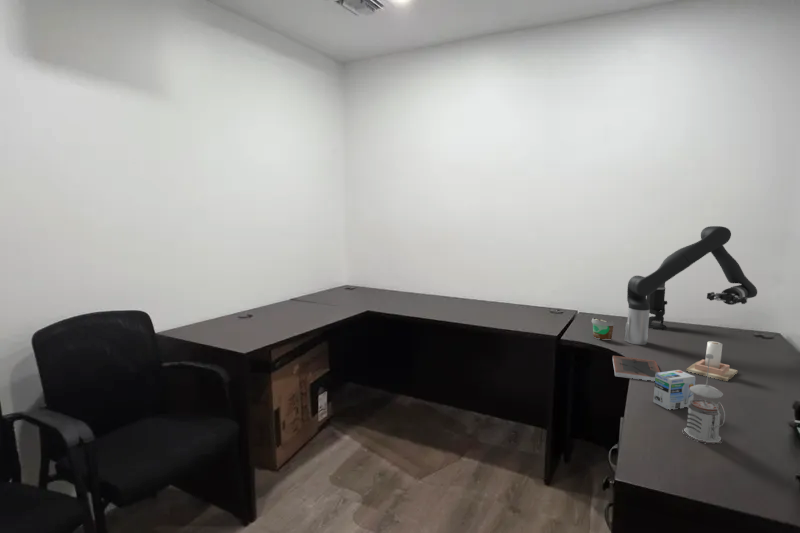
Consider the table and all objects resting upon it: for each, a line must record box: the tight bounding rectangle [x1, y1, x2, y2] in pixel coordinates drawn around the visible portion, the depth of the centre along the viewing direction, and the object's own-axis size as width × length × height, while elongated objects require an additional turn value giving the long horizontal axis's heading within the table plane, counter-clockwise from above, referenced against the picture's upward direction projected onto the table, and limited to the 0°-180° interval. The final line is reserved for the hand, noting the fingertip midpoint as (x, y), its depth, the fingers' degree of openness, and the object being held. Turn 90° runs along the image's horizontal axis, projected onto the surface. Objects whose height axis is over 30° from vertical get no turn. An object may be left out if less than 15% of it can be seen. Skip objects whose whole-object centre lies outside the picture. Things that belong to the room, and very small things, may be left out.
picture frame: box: [612, 355, 661, 382], centre depth 183 cm, size 16×2×22 cm
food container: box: [591, 316, 616, 340], centre depth 226 cm, size 12×6×10 cm, turn 25°
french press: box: [683, 354, 726, 442], centre depth 128 cm, size 10×12×25 cm
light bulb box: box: [653, 369, 696, 411], centre depth 150 cm, size 11×7×11 cm, turn 106°
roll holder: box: [685, 358, 739, 382], centre depth 180 cm, size 14×14×3 cm
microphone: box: [646, 282, 668, 330], centre depth 247 cm, size 13×12×30 cm
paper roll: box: [704, 340, 723, 369], centre depth 179 cm, size 5×5×11 cm
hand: (722, 299), depth 195 cm, fingers open, 8 cm apart
